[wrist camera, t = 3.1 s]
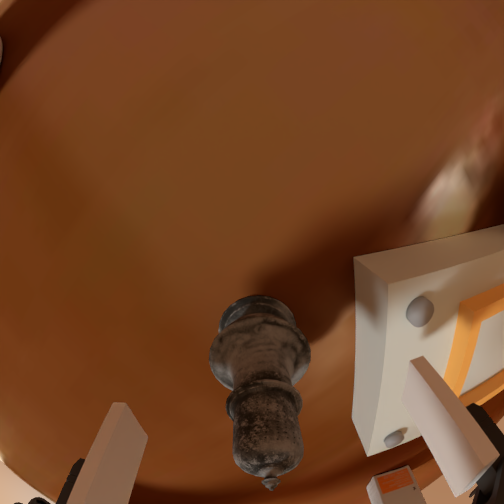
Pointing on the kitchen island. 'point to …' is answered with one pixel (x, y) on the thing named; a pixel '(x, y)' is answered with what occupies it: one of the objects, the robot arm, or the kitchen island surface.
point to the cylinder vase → (1, 49)
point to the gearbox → (427, 327)
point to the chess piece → (262, 384)
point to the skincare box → (395, 488)
